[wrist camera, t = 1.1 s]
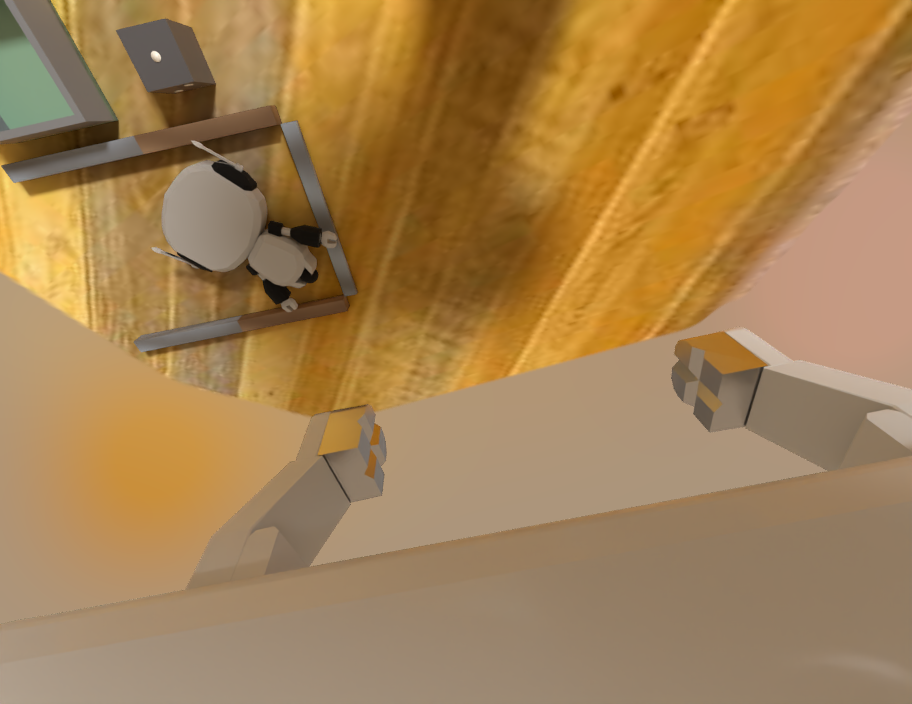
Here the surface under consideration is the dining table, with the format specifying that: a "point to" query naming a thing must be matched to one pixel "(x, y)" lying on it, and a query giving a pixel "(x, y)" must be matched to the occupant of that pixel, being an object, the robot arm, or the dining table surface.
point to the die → (166, 56)
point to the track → (202, 133)
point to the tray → (43, 76)
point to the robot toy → (237, 229)
